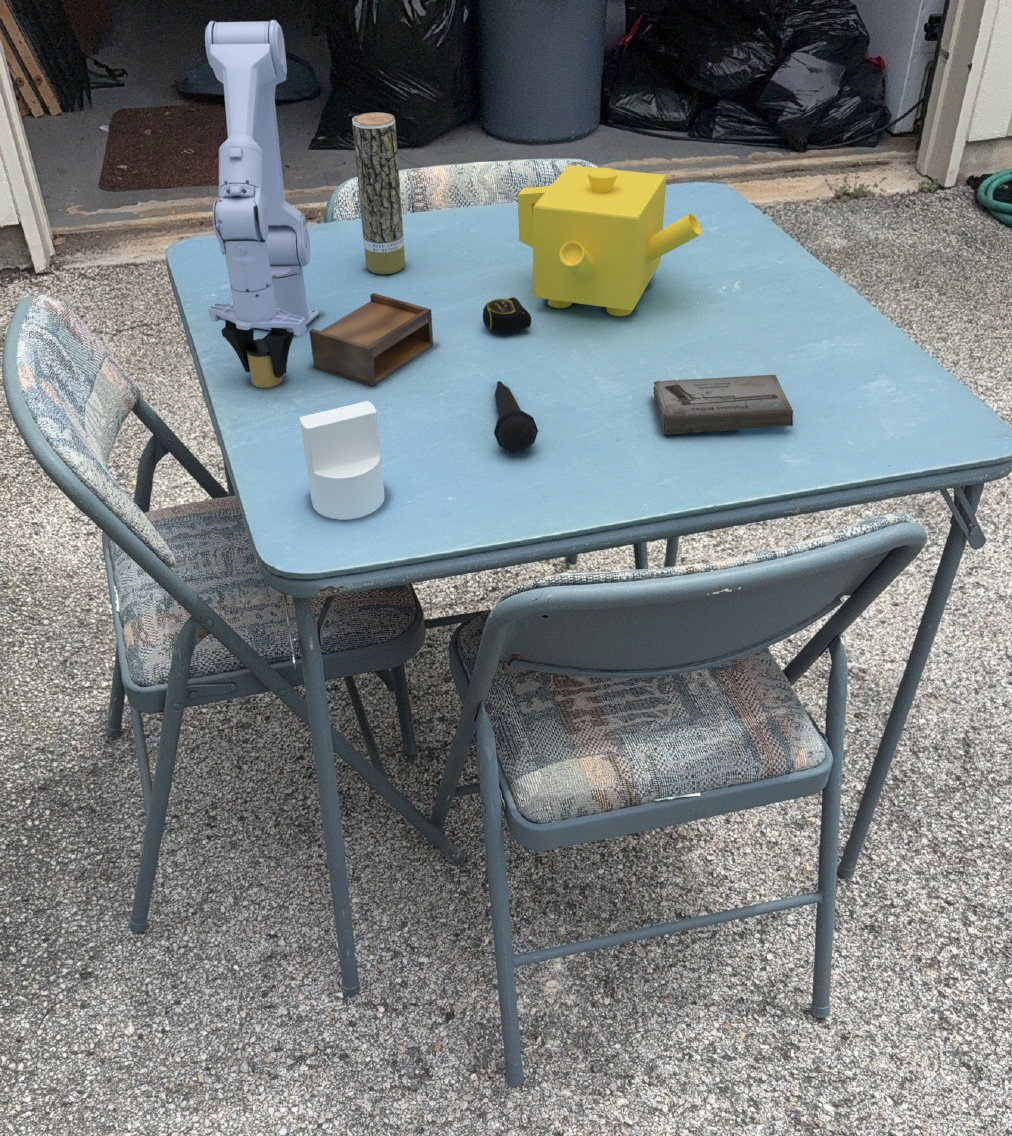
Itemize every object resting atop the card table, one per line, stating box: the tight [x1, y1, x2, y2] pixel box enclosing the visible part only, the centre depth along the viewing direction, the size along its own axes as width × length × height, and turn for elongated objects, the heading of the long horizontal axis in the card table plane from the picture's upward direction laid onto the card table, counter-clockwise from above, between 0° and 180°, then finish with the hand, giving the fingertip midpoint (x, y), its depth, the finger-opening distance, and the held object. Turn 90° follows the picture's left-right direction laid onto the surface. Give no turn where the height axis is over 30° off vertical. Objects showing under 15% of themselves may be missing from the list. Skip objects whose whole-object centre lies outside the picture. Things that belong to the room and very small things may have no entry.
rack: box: [308, 292, 434, 388], centre depth 169 cm, size 11×15×6 cm
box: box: [652, 374, 794, 436], centre depth 154 cm, size 11×17×3 cm, turn 92°
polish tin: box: [245, 337, 283, 389], centre depth 163 cm, size 5×5×6 cm
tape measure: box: [482, 296, 532, 334], centre depth 176 cm, size 7×7×4 cm
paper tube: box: [351, 112, 406, 275], centre depth 188 cm, size 7×7×25 cm
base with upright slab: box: [299, 400, 385, 521], centre depth 137 cm, size 9×9×12 cm
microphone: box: [493, 380, 539, 453], centre depth 154 cm, size 6×6×20 cm
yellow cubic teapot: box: [517, 164, 703, 317], centre depth 180 cm, size 35×29×20 cm
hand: (265, 371), depth 164 cm, fingers closed on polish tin, 4 cm apart
